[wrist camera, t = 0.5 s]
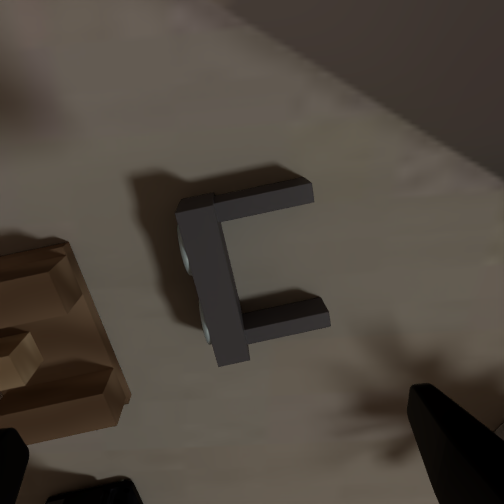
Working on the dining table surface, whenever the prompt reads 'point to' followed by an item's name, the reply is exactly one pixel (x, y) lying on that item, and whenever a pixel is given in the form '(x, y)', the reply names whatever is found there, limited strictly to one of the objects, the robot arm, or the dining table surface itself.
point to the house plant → (500, 431)
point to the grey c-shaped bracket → (221, 276)
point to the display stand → (54, 350)
